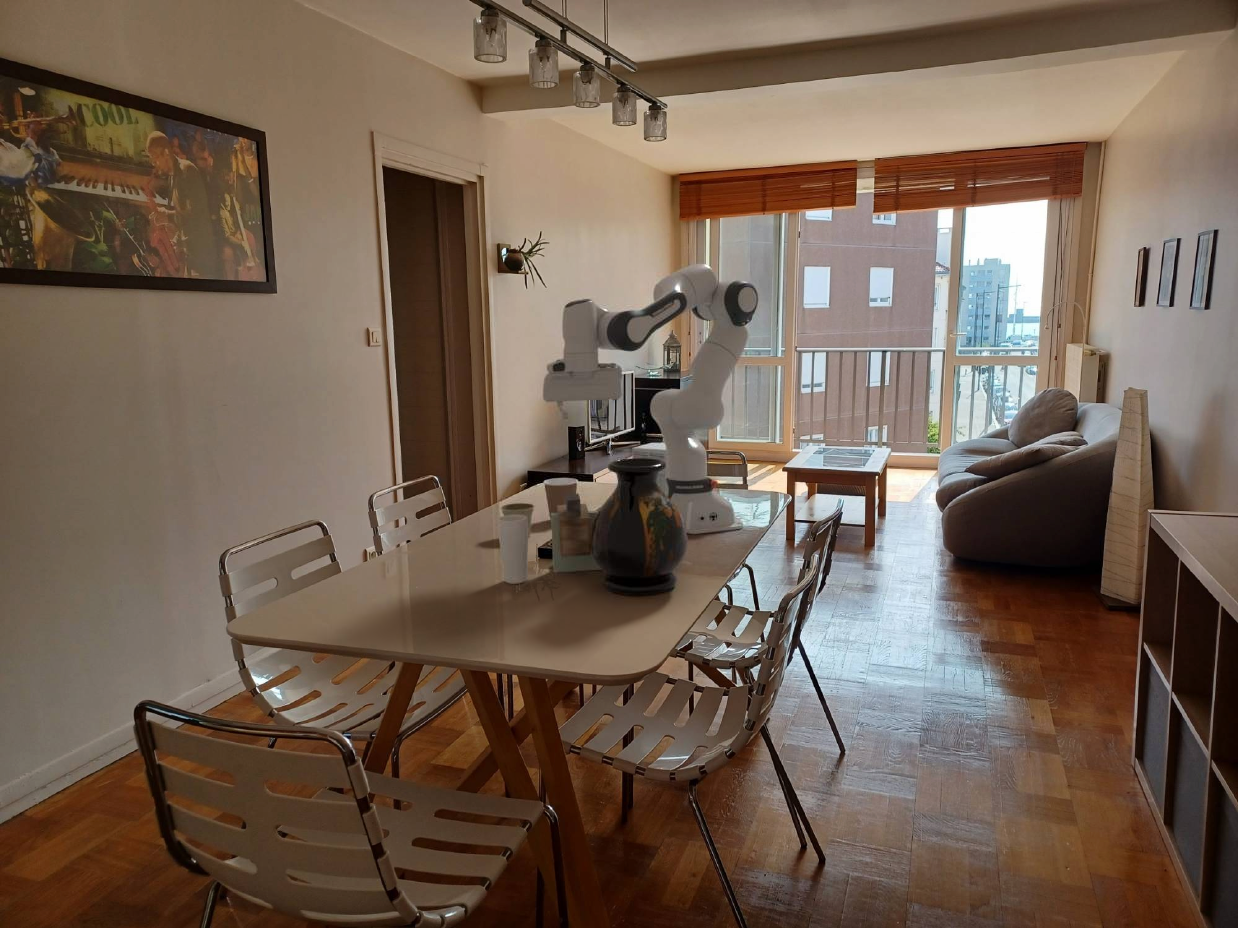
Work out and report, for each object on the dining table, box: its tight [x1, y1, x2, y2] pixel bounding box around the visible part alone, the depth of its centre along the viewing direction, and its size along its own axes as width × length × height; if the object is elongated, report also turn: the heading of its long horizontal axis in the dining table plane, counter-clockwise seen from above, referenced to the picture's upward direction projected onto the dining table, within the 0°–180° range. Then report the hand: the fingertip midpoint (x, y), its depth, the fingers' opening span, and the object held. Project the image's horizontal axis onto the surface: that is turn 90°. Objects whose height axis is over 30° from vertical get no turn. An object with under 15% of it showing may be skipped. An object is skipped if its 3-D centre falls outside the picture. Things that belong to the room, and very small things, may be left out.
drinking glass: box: [497, 515, 529, 585], centre depth 196 cm, size 7×7×15 cm
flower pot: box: [500, 502, 536, 538], centre depth 237 cm, size 9×9×9 cm
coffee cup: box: [542, 477, 579, 520], centre depth 255 cm, size 10×10×12 cm
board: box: [550, 510, 602, 573], centre depth 206 cm, size 16×6×14 cm, turn 97°
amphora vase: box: [591, 458, 689, 596], centre depth 188 cm, size 22×22×28 cm
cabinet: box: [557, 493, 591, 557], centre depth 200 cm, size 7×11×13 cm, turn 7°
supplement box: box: [631, 442, 668, 496], centre depth 283 cm, size 13×13×18 cm
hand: (583, 418), depth 220 cm, fingers open, 8 cm apart
